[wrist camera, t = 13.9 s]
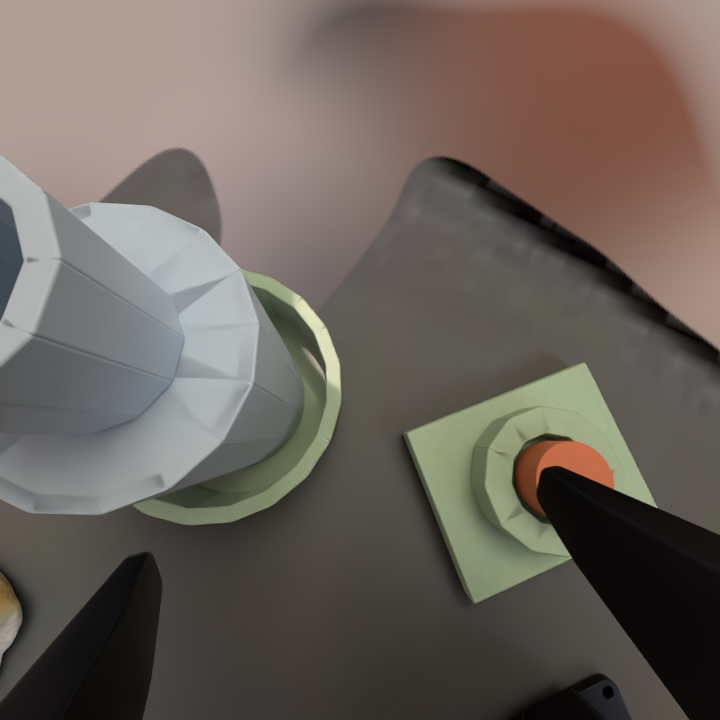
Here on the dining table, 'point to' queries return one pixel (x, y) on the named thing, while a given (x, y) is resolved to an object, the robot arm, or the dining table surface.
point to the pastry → (8, 615)
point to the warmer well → (304, 449)
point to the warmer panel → (511, 475)
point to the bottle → (127, 356)
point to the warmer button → (559, 454)
